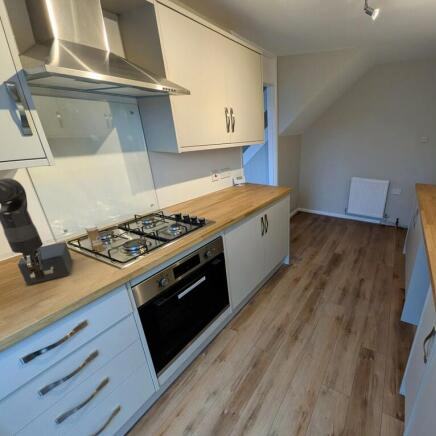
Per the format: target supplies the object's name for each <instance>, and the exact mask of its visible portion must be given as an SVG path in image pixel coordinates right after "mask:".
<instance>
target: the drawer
mask: <svg viewBox="0 0 436 436" xmlns="http://www.w3.org/2000/svg"><path fill="white" fill-rule="evenodd" d="M42 262H43V264H42V265H43V267H42V269H43V271H44V273H45V278H43V279H39V280H37V279H36V277H35V275H34V272H29V271H28V270H27V269H26V268H25V267H24V266H21V267H20V269H21V271H22V273H23V275H24V277H25V280H26V282H27V284H31V285H33V284H32V283H35V284H37V283H36V282H39V283H41V282H40V281H43V282H45V281H44V280H47V281H49V280H48V279H51V280H53V279H52V278H55V279H57V278H56V277H59V278H61V277H60V276H63V277H65V276H64V275H67V272H66V270H65V267H64V264H63V262H62V259H61V258H60V257H59V258H54V259H50V260H45V261H42ZM20 269H19V270H20ZM21 271H20V272H21ZM22 273H21V274H22ZM23 275H22V276H23ZM67 276H68V275H67ZM25 280H24V281H25ZM26 282H25V283H26ZM27 284H26V285H27Z"/></svg>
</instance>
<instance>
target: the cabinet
mask: <svg viewBox="0 0 436 436" xmlns="http://www.w3.org/2000/svg"><path fill="white" fill-rule="evenodd" d="M38 249H40V252H41V257H42V261H45V260H50V259H54V258H59V257H60V258H61V259H62V262H63V264H64V267H65V270H66V272H67V275H64V276H60V277H56V278H52V279H48V280H44V281H40V282H36V283H32V284H27V282H26V280H25V277H24V275H23V273H22V271H21V269H20V267H21V266H24V264H26V263H25V261H23V259H22V257H21V258H20V260H19V261H18V262H17V267H18V269H19V271H20V273H21V275H22V277H23V280H24V282H25V284H26V286H30V285H31V286H32V285H35V284H39V283H43V282H47V281H51V280H55V279H59V278H63V277H66V276H70V275H71V270H72V265H73V258H72V255H71V252H70V249H69V247H68V244H67V242H66V241H64V242H58V243H53V244H47V245H42V246H41V247H40V248H38ZM38 249H37V250H38Z"/></svg>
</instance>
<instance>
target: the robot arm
mask: <svg viewBox="0 0 436 436" xmlns="http://www.w3.org/2000/svg"><path fill="white" fill-rule="evenodd" d="M0 225H1V227H2V230H3V234H4V236H5V239H6V241H7V243H8V245H9V247H10V250H11V251H12V252H13V253H14V254H22V255H21V258H22V259H23V261H25V263H26V264H24V267H25V268H26V269H27V270H28V271H29V272H34V275H35V277H36V279H37V280H39V279H43V278H45V273H44V271H43V269H42V267H43V265H42V264H43V262H42V257H41V252H40V249H38V248H40V247H42V246H44V243H43V241H42V238H41V236H40V234H39V231H38V228H37V226H36V224H35V223H34V221H33V218H32V216H31V214H30V212H29V209H28V197H27V192H26V189H25V187H24V186H23V184H22V183H21V182H20V181H18V180H17V179H14V178H10V177H3V178H0ZM37 249H38V250H37Z"/></svg>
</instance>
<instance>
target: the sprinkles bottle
mask: <svg viewBox="0 0 436 436" xmlns="http://www.w3.org/2000/svg"><path fill="white" fill-rule="evenodd" d="M84 229H85V232H86V233H87V238H88V241H89V244H90V247H91V249H92V252H93V253H99V252H102V251H104V246H103V243H102V239H101V236H100V233H99V227H98V225H97V224H89V225H86V226H84ZM93 250H95V251H93Z"/></svg>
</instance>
